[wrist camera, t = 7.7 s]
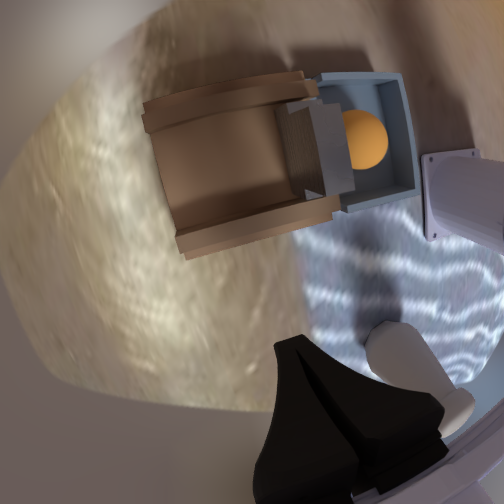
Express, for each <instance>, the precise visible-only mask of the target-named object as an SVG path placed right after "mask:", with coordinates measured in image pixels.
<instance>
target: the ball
mask: <svg viewBox="0 0 504 504" xmlns="http://www.w3.org/2000/svg"><path fill="white" fill-rule="evenodd" d="M342 116H343V121H344V126H345V130H346V136H347V141H348V146H349V152H350V158H351V164H352V169H368V168H371V167H373V166H375V165H376V164H378V163H379V162H380V161H381V160H382V159H383V157H384V156H385V153H386V151H387V147H388V136H387V132H386V130H385V127H384V126H383V124H382V123H381V121H380V120H379V119H378V118H377V117H375V116H374V115H373V114H371V113H369V112H366V111H363V110H348V111H345V112H343V113H342Z"/></svg>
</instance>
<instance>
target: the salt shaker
mask: <svg viewBox="0 0 504 504" xmlns="http://www.w3.org/2000/svg"><path fill="white" fill-rule="evenodd" d="M365 351H366V357H367V362H368V364H369V367H370V369H371V371H372V372H373V373H375V374H376V375H377V376H378V377H380V378H381V379H382V380H383V381H385V382H386V383H387V384H389V385H391V386H394V387H398V388H402V389H407V390H413V391H419V392H427V393H430V394H431V395H432V396H433V397H435V398H436V399H437V400H438V401H439V402H440V403H441V405H442V406H443V407H444V408H445V414H444V417H443V419H442V422H441V424H440V426H439V428H438V430H439V431H440V433H441V434H442V437H441V438H445V437H447V436H449V435H451V434H452V433H453V432H455V431H456V430H458V429H459V428H460V427H461V426H462V425H463V424H464V423H465V422H466V420H467V419H468V418H469V416H470V415H471V413H472V412H473V410H474V407H475V399H474V397H473V396H472V394H471V393H469V392H468V391H467V390H465V389H464V388H458V389H456V388H455V387H454V385H453V383H452V382H451V380H450V379H449V377H448V375H447V374H446V372H445V371H444V369H443V368H442V366H441V364H440V363H439V361H438V360H437V358H436V357H435V355H434V354H433V352H432V351H431V349H430V348H429V346H428V345H427V344H426V342H425V341H424V339H423V338H422V336H421V335H420V333H419V332H418V331H417V329H415V328H414V327H413V326H411V325H410V324H408V323H401V322H391V321H387V320H385V321H384V322H382V323H381V324H380V325H378V326H377V327H375V328H374V329H372V330H371V332H370V334H369V337H368V339H367V341H366V344H365Z"/></svg>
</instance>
